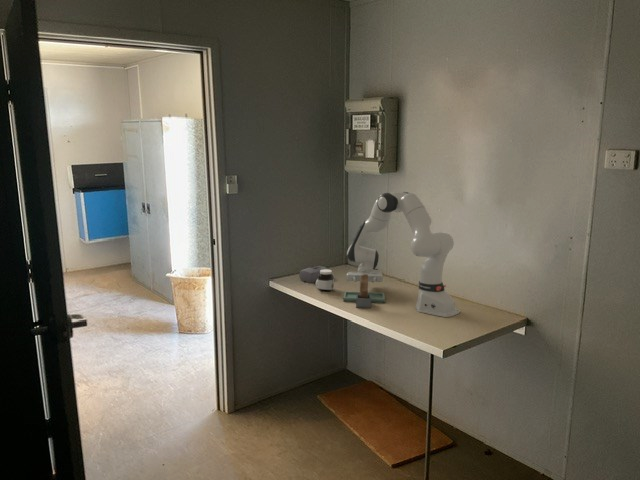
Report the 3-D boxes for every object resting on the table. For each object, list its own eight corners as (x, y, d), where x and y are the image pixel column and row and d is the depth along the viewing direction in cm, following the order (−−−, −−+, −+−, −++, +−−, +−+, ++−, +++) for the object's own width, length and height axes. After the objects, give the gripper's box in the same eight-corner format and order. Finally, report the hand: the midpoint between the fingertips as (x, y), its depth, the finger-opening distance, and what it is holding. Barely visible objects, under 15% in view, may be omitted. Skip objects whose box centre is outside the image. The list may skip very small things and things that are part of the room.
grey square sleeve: (370, 303, 270) (371, 294, 269) (370, 308, 263) (370, 299, 262) (356, 303, 271) (356, 294, 270) (356, 307, 264) (356, 298, 263)
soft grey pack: (312, 284, 307) (335, 278, 321) (312, 271, 306) (336, 265, 319) (296, 279, 318) (319, 274, 331) (296, 266, 317) (319, 261, 330)
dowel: (368, 304, 267) (369, 275, 264) (363, 306, 264) (364, 276, 261) (363, 302, 270) (363, 273, 267) (358, 304, 267) (358, 274, 264)
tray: (384, 296, 283) (384, 292, 283) (384, 302, 272) (384, 299, 271) (344, 294, 286) (344, 291, 285) (343, 301, 274) (343, 297, 274)
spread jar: (327, 293, 289) (327, 273, 287) (310, 290, 294) (310, 271, 292) (337, 288, 299) (337, 269, 297) (320, 285, 304) (320, 266, 302)
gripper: (346, 268, 291) (345, 274, 278) (382, 269, 289) (383, 275, 275) (346, 278, 292) (345, 285, 279) (382, 280, 290) (382, 286, 277)
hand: (364, 280), depth 277 cm, fingers open, 8 cm apart
